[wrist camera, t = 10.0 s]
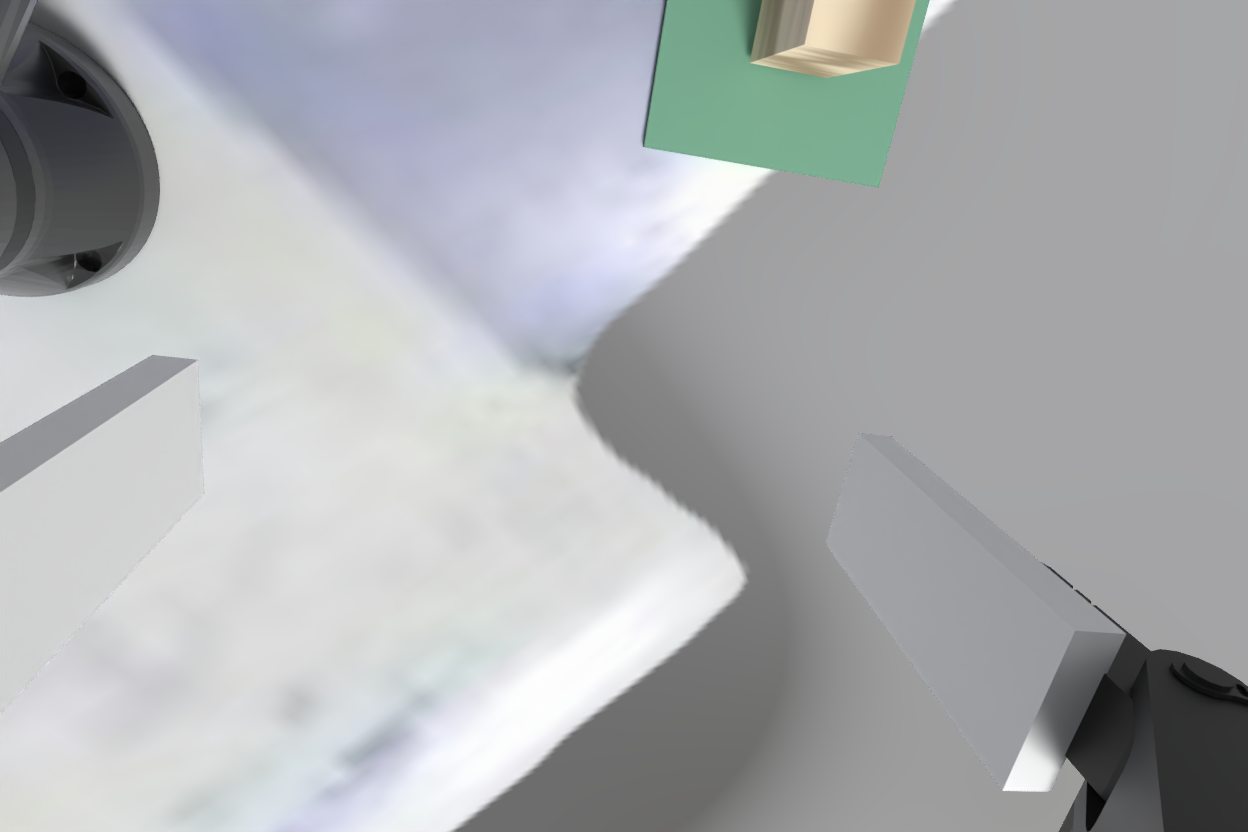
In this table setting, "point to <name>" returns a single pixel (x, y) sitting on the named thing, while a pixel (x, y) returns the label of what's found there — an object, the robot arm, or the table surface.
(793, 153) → the pitch mat
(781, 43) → the rod slider
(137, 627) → the table surface
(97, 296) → the table surface
